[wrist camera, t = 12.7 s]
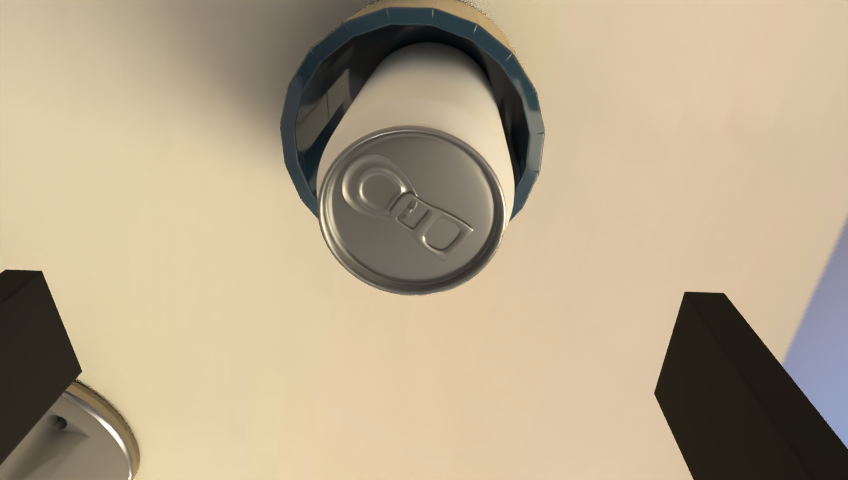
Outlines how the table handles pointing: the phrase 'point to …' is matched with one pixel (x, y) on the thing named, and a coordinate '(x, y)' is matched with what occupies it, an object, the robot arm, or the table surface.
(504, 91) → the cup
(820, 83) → the table surface
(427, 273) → the can
